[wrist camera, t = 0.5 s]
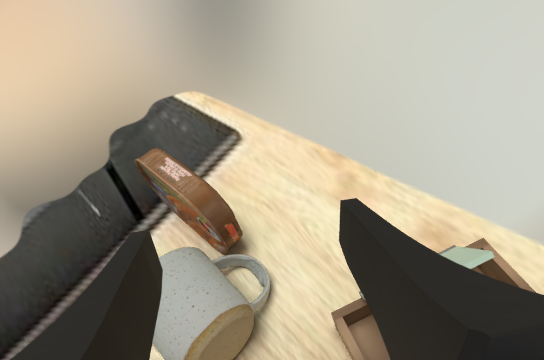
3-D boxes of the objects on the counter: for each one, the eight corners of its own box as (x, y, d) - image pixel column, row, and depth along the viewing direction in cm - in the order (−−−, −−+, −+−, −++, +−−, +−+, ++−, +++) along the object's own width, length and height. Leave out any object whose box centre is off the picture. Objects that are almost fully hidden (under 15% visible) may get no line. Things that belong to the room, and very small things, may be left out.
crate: (602, 400, 22) (632, 392, 19) (421, 497, 21) (426, 503, 18) (473, 257, 29) (483, 238, 26) (335, 326, 28) (331, 312, 25)
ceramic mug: (207, 398, 27) (162, 380, 21) (155, 328, 32) (106, 298, 26) (295, 295, 31) (277, 256, 25) (236, 246, 35) (209, 203, 30)
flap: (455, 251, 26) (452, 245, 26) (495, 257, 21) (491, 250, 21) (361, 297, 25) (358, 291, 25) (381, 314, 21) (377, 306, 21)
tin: (157, 197, 42) (118, 151, 36) (177, 180, 43) (142, 132, 37) (235, 267, 34) (202, 223, 27) (257, 244, 35) (230, 196, 28)
